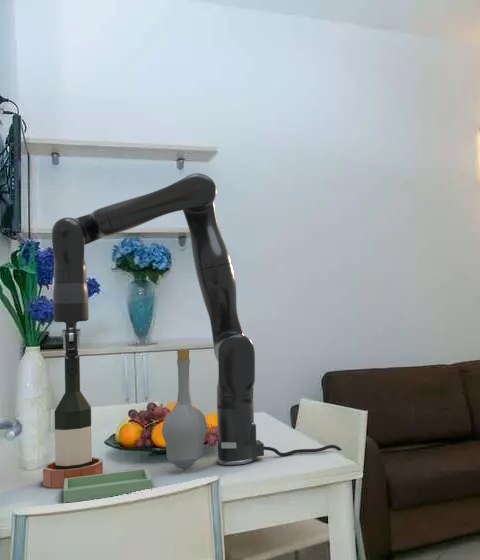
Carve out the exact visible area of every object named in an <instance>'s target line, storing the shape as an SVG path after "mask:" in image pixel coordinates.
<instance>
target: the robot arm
mask: <svg viewBox="0 0 480 560" xmlns="http://www.w3.org/2000/svg"><path fill="white" fill-rule="evenodd" d="M217 193H218V191H217V186H216V183H215V182H214V180H213V179H212V178H211V177H210V176H208V175H207V174H204V173H200V172H195V173H190V174H188V175H186V176H185V177H182V178H181V179H179V180H177V181H175V182H173V183H171V184H170V185H166V186H165V187H163V188H160V189H158V190H157V189H156V190H155V191H152V192H148V193H146V194H143V195H139V196H136V197H133V198H129V199H125V200H122V201H119V202H115V203H112V204H108V205H105V206H102V207H100V208H98V209H94V210H93V211H92V212H91V213H88V214H85V215H82V216H81V215H80V216H78V217H75V218H74V217H62V218H60V219H58V220H56V221H55V223H54V224H53V226H52V227H51V243H52V252H53V261H54V262H53V263H54V264H53V290H52V303H53V304H52V310H53V311H52V312H53V321H54V322H55V323H64V324H65V329H61V334H62V335H61V337H62V338H63V350H64V351H65V353H64V359H65V358H66V359H67V374H68V375H76V374H77V359H75V358H78V356H79V349H80V346H81V342H80V338H81V336H82V333H81V332H82V331H81V329H82V328H77V327H78V325H77V324H78V322H87V321H89V290H88V283H87V282H88V281H87V280H88V279H87V264H86V261H85V246H86V245H88V244H90V243H93V242H96V241H98V240H100V239H103V238H105V237H109V236H114V235H116V234H120V233H122V232H126V231H128V230H131V229H134V228H137V227H139V226H141V225H144V224H146V223H148V222H150V221H151V222H152V220H155V219H158V218H160V217H162V216H165V215H168V214H172V213H176V212H180V211H182V212H183V215H184V218H185V221H186V224H187V228H188V231H189V235H190V242H191V251H192V252H191V253H192V258H193V263H194V269H195V274H196V278H197V282H198V285H199V289H200V292H201V296H202V300H203V303H204V305H205V308H206V309H205V310H206V312H207V315H208V318H209V322H210V328H211V335H212V344H213V354H214V356H215V359H216V361H217V362H218V363H217V364H218V380H217V385H216V421H217V423H216V424H217V426H216V427H217V463H218V464H219V465H224V466H237V465H245V464H249V463H253V462H257V460H258V457H265V451H270V452H273V453H275V454H276V455H277V456H279V457H287V456H290V455H291V456H292V455H293V454H302V453H318V452H319V453H320V452H324V451H326V450H330V449H335V450H336V451H343V449H342V447H339V446H338V445H336V444H328V445H325V446H322V447H318V448H300V449H293V450H289V451H287V452H286V451H285V452H281V451H279V450H278V449H277V448H275V447H272V446H265V445H264V442H263V441H261V440H260V439H257V424H256V423H255V412H254V409H255V407H254V386H255V382H256V351H255V347H254V346H255V345H254V344H253V341H252V340H251V339H250V338H249V337H248V336H246V335H244V331H243V329H242V325H241V322H240V319H239V314H238V307H237V282H236V281H237V280H236V276H235V271H234V267H233V262H232V258H231V256H230V253H229V250H228V248H227V245H226V243H225V241H224V239H223V236H222V234H221V231H220V229H219V225H218V222H217V215H216V211H215V209H216V208H215V199H216V197H217Z"/></svg>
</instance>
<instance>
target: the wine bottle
mask: <svg viewBox="0 0 480 560" xmlns="http://www.w3.org/2000/svg"><path fill="white" fill-rule="evenodd" d="M75 359H77V374H76V375H68V374H67V359H66V358H65V357H64V393H63V395H62V396H61V399H60V401H59V402H58V404H57V406H56V408H55V409H54V451H55V452H54V457H55V460H54V462H55V467H56V470H66V469H74V468H81V467H86V466H90V465H92V457H93V443H92V439H93V438H92V434H93V433H92V405H91V404H90V403H89V402H88V400H87V399H86V397H85V396H84V394H83V393H82V391H81V371H80V370H81V364H80V363H81V361H80V355H78V358H75Z"/></svg>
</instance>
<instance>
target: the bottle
mask: <svg viewBox="0 0 480 560" xmlns="http://www.w3.org/2000/svg"><path fill="white" fill-rule="evenodd" d="M176 353H177V354H176V355H177V358H176V364H177V379H178V380H177V384H178V385H177V386H178V387H177V388H178V389H177V390H178V391H177V398H176V403H175V405H174V406H173V407H172V409H171V410H170V411H168V413H167V414H166V415H165V417H164V418H163V421H162V427H161V431H160V432H161V435H162V438H163V441H164V444H165V451H166V459H167V460H168V462H169V463H171V464H172V465H174V466H176V467H177V469H181V470H183V471H184V470H185V471H186V470H188V469H190V468H191V467H192V466H193V465H194V464H195V463H196V462H197V461H198V460H199V459H200V458H201V457H203V455H204V444H205V438H206V435H207V432H208V424H207V420H206V416H205V414H204V413H203V412H202V410H201V409H200V408H199V407H198V406H197V405H196V403H195V402H194V401H193V400H192V397H191V391H190V365H191V359H190V348H178V349H176Z"/></svg>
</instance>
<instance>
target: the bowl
mask: <svg viewBox="0 0 480 560" xmlns="http://www.w3.org/2000/svg"><path fill="white" fill-rule="evenodd" d="M103 468H104V467H103V458H101V457H96V456H92V465H90V466H86V467H81V468H74V469H66V470H56V467H55V461H51V462H49V463H47V464H44V465H43V468H42V485H43V487H45V488H49V489H50V488H52V489H64V481H65V478H73V477H81V476H89V475H97V474H104V473H103V472H104V469H103Z"/></svg>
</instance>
